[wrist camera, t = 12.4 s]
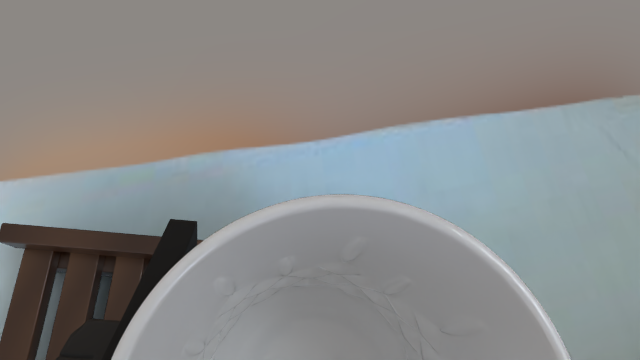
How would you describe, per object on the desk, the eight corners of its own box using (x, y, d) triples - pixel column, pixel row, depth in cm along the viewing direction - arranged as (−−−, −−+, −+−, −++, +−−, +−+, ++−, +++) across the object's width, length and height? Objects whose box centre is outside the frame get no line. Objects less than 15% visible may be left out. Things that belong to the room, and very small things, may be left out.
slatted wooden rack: (285, 261, 31) (288, 247, 26) (266, 472, 27) (264, 503, 22) (47, 241, 30) (1, 222, 25) (-7, 457, 26) (-74, 486, 21)
